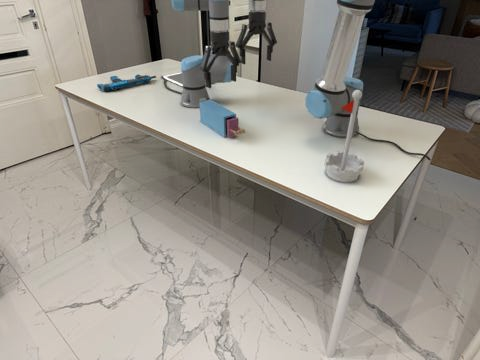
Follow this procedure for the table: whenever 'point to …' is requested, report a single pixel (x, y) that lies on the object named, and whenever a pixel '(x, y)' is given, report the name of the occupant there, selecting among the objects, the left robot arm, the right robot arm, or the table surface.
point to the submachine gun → (124, 82)
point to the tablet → (175, 78)
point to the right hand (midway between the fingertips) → (256, 61)
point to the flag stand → (346, 151)
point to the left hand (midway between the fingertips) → (221, 84)
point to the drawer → (233, 127)
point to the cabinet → (215, 116)
